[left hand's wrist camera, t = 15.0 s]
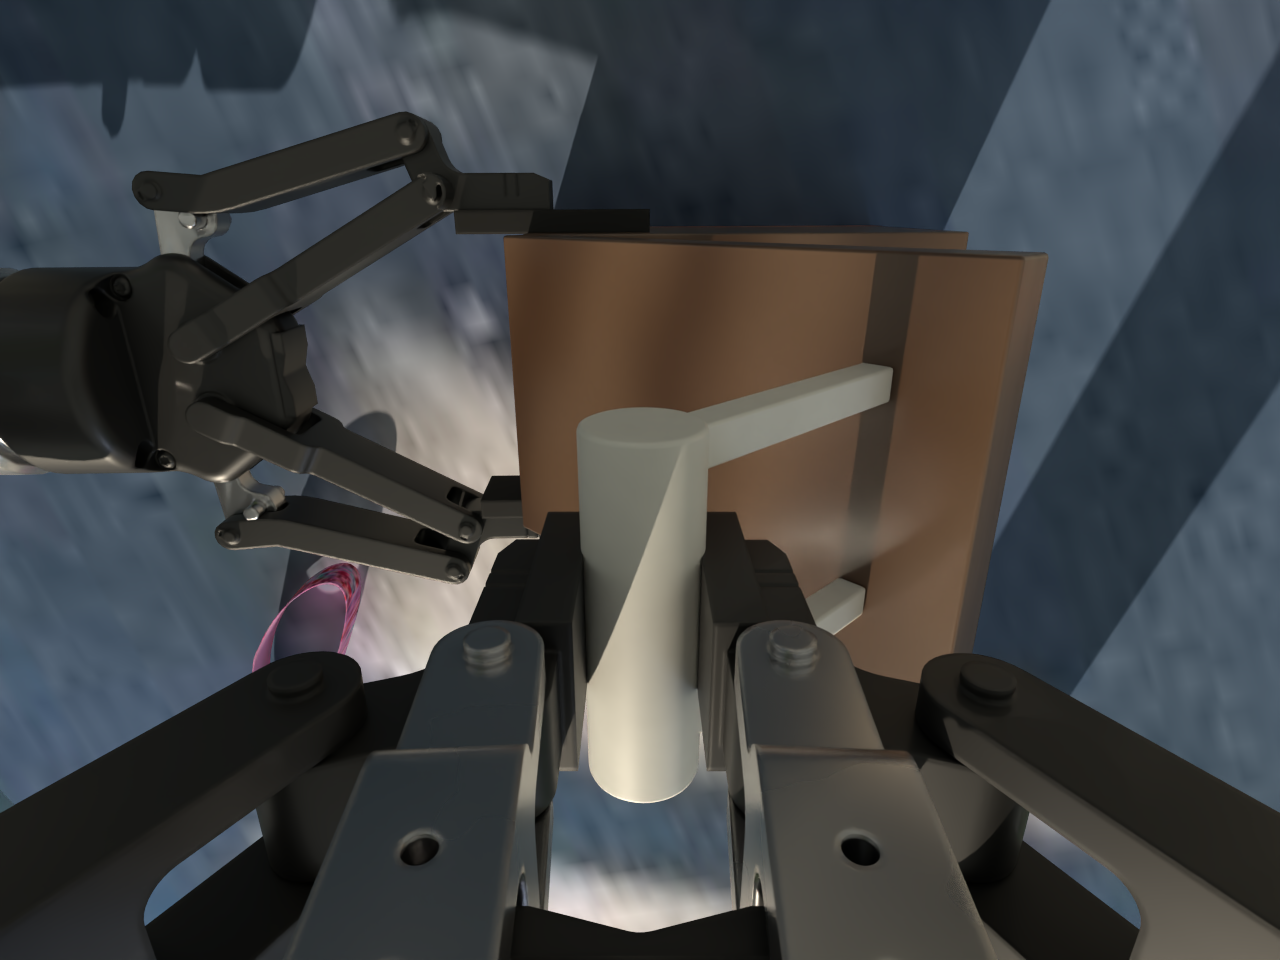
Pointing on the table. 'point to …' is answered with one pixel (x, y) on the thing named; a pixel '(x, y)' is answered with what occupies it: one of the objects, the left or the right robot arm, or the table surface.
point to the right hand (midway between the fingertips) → (647, 366)
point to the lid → (763, 449)
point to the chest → (802, 235)
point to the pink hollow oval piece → (335, 575)
